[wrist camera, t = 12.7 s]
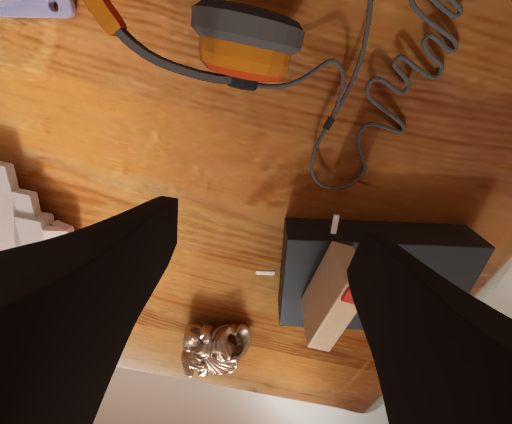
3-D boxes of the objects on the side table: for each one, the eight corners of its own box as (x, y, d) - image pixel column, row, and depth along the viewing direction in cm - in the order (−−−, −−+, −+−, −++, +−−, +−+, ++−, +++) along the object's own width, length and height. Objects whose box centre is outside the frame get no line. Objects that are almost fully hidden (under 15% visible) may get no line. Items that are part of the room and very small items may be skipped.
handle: (319, 304, 21) (330, 356, 17) (300, 299, 20) (307, 350, 17) (353, 246, 18) (375, 292, 14) (331, 240, 18) (348, 286, 14)
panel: (256, 297, 25) (254, 326, 22) (258, 192, 19) (257, 212, 17) (427, 306, 24) (447, 336, 21) (478, 200, 19) (514, 222, 16)
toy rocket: (-67, 141, 18) (-108, 150, 16) (72, 170, 19) (49, 182, 17) (-6, 296, 26) (-29, 315, 24) (92, 314, 27) (78, 334, 25)
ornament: (219, 298, 25) (212, 331, 22) (263, 335, 27) (262, 370, 24) (165, 329, 28) (151, 363, 24) (209, 361, 30) (202, 395, 27)
